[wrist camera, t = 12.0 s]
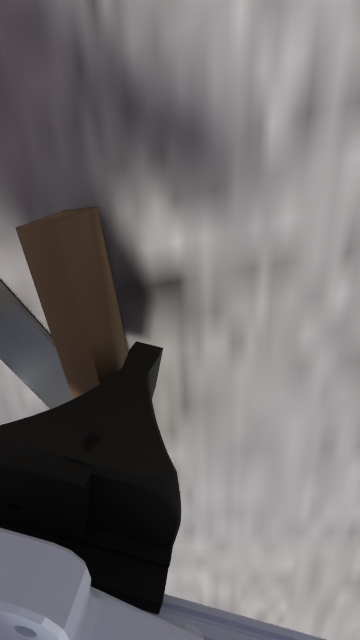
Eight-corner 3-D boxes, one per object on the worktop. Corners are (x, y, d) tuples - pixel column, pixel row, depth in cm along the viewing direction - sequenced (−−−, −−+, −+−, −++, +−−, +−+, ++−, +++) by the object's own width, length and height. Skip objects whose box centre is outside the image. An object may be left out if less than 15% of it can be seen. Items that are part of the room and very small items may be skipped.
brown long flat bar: (130, 461, 17) (112, 517, 15) (65, 209, 11) (15, 227, 9) (152, 462, 17) (137, 519, 14) (97, 206, 11) (55, 224, 9)
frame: (133, 496, 20) (112, 571, 16) (-135, 229, 14) (-261, 257, 10) (181, 481, 18) (170, 559, 15) (-92, 178, 12) (-220, 189, 9)
